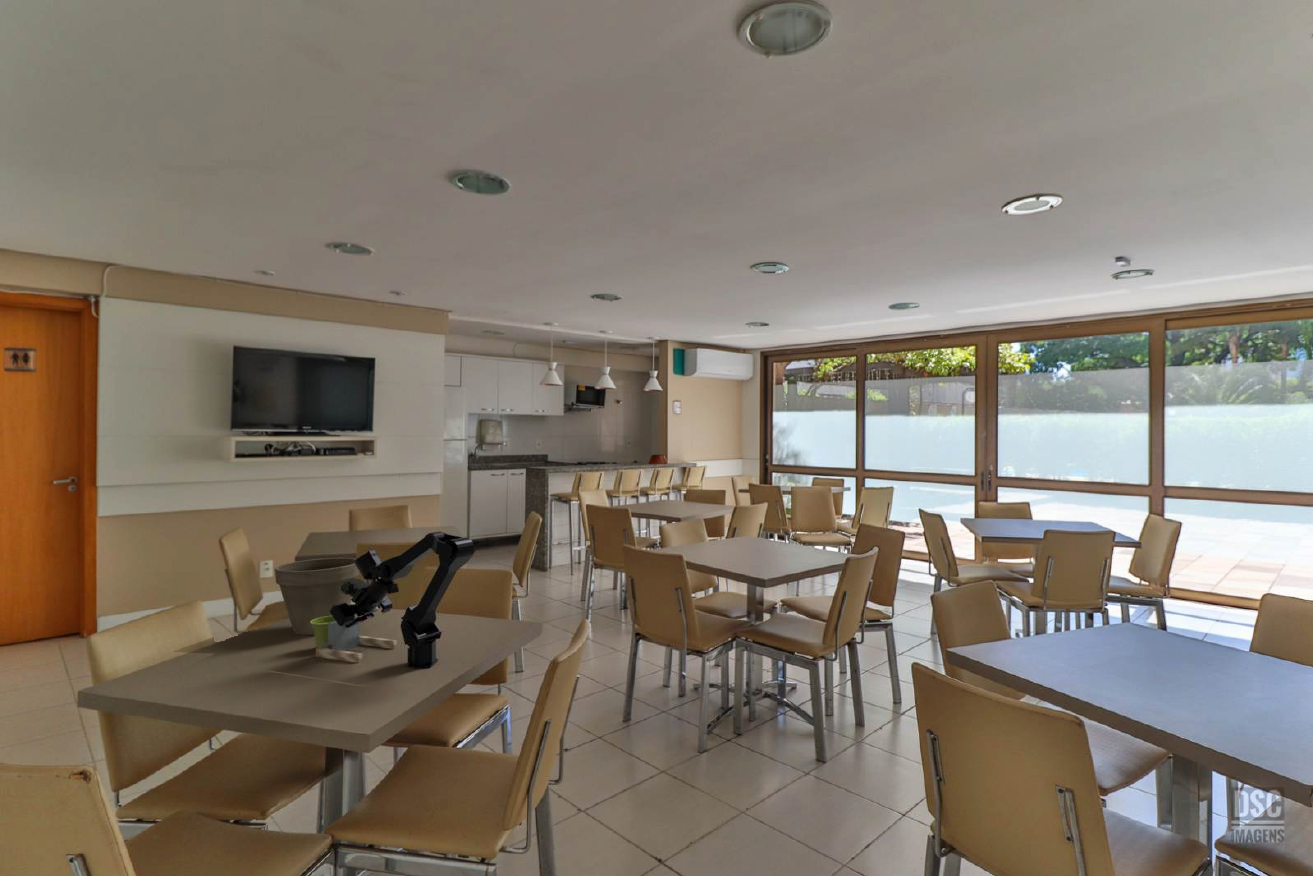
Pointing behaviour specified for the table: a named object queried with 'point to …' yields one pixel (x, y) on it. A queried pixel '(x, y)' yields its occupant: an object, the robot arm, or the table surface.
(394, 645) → the wooden rail frame
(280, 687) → the table surface
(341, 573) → the plant pot
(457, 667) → the table surface
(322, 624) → the plant pot
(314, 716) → the table surface
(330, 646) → the board
